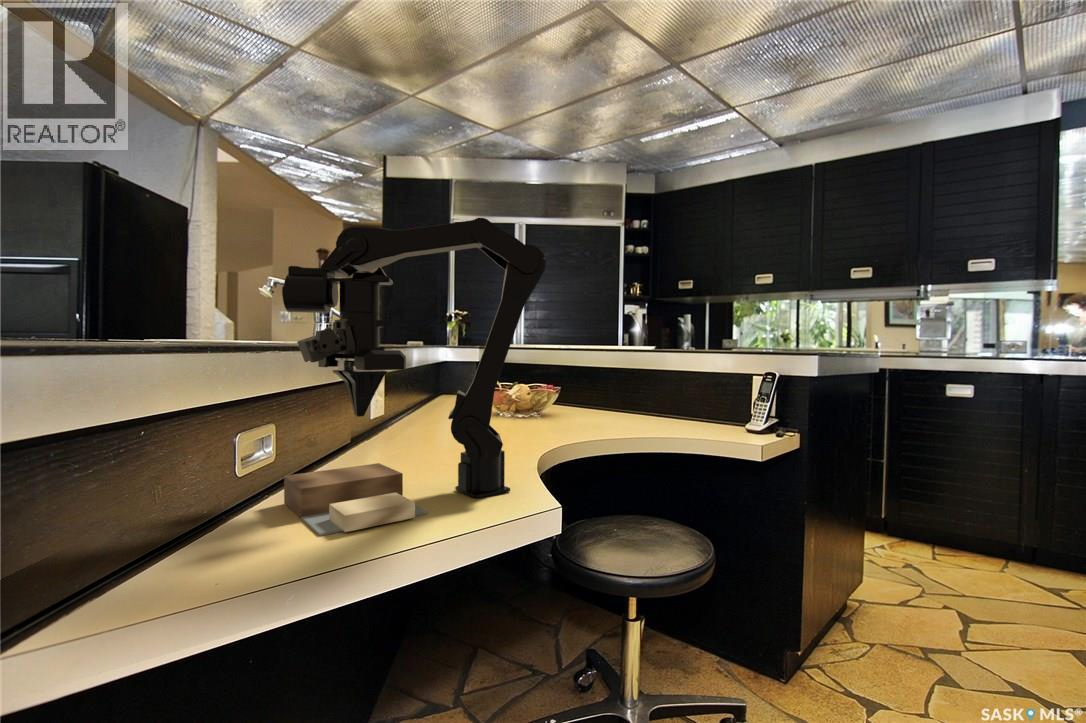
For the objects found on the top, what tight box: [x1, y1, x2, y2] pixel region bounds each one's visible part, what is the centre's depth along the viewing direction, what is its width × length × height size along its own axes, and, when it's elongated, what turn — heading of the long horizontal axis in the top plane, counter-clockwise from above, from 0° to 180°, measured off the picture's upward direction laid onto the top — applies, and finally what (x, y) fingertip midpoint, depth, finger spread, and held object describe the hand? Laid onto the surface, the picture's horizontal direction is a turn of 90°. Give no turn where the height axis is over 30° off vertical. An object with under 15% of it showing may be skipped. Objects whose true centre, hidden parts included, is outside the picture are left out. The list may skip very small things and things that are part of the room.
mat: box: [300, 504, 428, 537], centre depth 70 cm, size 14×8×1 cm, turn 129°
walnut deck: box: [283, 462, 404, 519], centre depth 77 cm, size 14×9×4 cm, turn 129°
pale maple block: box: [329, 493, 416, 533], centre depth 68 cm, size 9×6×2 cm, turn 129°
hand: (359, 416), depth 80 cm, fingers closed
